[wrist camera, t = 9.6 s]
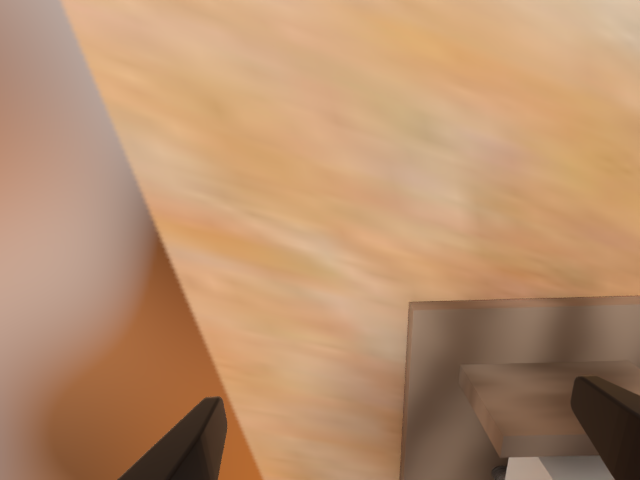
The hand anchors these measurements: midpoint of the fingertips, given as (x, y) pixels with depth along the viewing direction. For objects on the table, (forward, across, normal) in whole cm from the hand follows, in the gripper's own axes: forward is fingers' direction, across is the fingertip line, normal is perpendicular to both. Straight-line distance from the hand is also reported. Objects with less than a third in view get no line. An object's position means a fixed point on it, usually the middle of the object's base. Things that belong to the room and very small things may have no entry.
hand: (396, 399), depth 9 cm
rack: (+11, -11, +14) cm, 21 cm away
